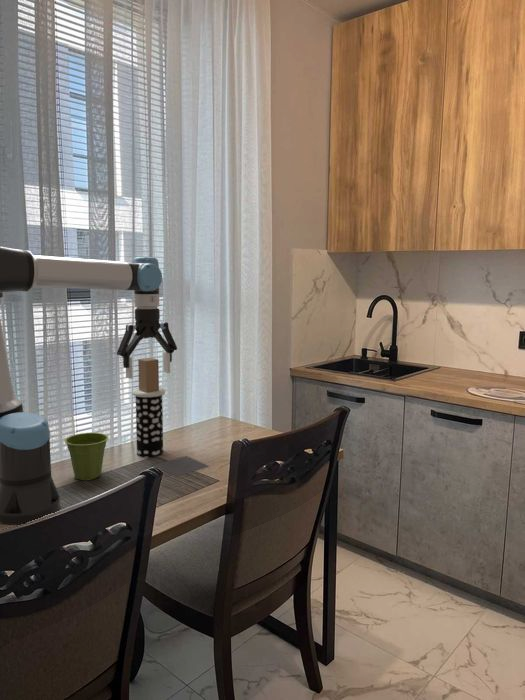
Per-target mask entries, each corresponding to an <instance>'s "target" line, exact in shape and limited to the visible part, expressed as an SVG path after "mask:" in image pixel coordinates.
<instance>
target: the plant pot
mask: <svg viewBox="0 0 525 700" xmlns="http://www.w3.org/2000/svg"><path fill="white" fill-rule="evenodd" d="M108 440H109V436H108V435H107V434H105V433H101V432H83V433H76V434H73V435H69V436H67V437H66V438H65V439H64V443H65V444H66V446H67V450H68V451H69V452H68V453H69V456H70V460H71V461H70V462H71V465H72V470H73V471H72V472H73V476H74V478H75V479H76V480H80V481H91V480H94V479H96V478H99V477H101V475H102V469H103V463H104V456H105V455H104V454H105V448H106V445H107V441H108Z"/></svg>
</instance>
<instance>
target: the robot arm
mask: <svg viewBox="0 0 525 700" xmlns="http://www.w3.org/2000/svg"><path fill="white" fill-rule="evenodd" d="M159 266H160V265H159V260H158V258H157V257H153V256H152V257H150V256H148V257H146V256H145V257H144V256H143V257H141V256H137V257H134V258H133V262H129V261H127V262H126V261H118V260H117V261H116V260H103V259H88V258H74V257H66V256H65V257H64V256H49V255H37V254H36V255H35V254H33V253H32V252H31V251H30V250H27V249H26V250H25V249H17V248H10V247H7V246H6V247H5V246H0V302H2V300H3V299H4V293H10V292H30V291H32V290H33V288H42V289H43V288H44V289H45V288H47V289H50V288H51V289H80V290H81V289H82V290H83V289H84V290H109V291H111V290H118V291H134V292H133V293H134V294H133V295H134V308H135V307H136V308H135V309H134V320H135V324H128V323H127V324H126V325H125V332H124V335H123V337H122V339H121V341H120V344H119V347H118V349H117V351H116V355H117V356H121V357H122V365H123V368H125V379H126V378H127V379H129V380H132V379H134V378H133V357H131V355H132V354H133V352H134V351H135V349H136V347H137V346H138V345H139V343H140V342H141V341H142V340H143V339H149V338H152V339H153V338H154V339H155V340H156V341H157V342H158V344H159V345H160V346H161V347H162V349H163V350H164V352H163V353H162V358H163V360H162V363H163V366H162V367H163V373H165V374H171V363H172V361H173V356H172V355H173V353H174V352H175V351H177V350H178V345H177V344H176V341H175V340H174V338H173V336H172V333H171V331H170V329H169V328H170V327H169V323H168V322H166V321H161V322H160V318H161V316H160V314H161V313H160V309H159V307H160V286H161V284H162V281H163V273H162V271H161V268H160V267H159ZM160 329H161V332H162V334H163V335H162V334H161V333H160ZM135 331H136V332H135ZM134 332H135V334H134ZM132 336H133V338H132ZM163 336H164V337H163ZM7 354H8V352H7V347H6V341H5V336H4V332H3V325H2V320H1V318H0V523H1V524H5V525H23V523H25V524H27V523H26V522H29V521H32V520H35V519H38V518H41V517H43V516H45V515H48V514H51V513H54V512H56V511H57V512H58V511H59V510H60V508H61V497H60V494H59V492H58V488H57V487H56V484H55V482H54V480H53V476H52V465H51V464H52V462H51V439H50V438H51V430H50V427H49V422H48V420H47V418H46V417H44V416H43V415H41V414H39V413H35V412H33V413H31V412H24V407H23V402H22V400H21V399H19V398H18V397H16V396H15V394H14V388H13V381H12V377H11V372H10V365H9V360H8V355H7ZM57 512H56V513H57ZM54 514H55V513H54Z"/></svg>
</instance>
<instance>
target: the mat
mask: <svg viewBox="0 0 525 700" xmlns="http://www.w3.org/2000/svg"><path fill="white" fill-rule="evenodd" d="M153 466H154V467H156V468H158V469H160V470H162V471H164V472H166V473H168V474H170V475H172V476H174V477H176V478H177V477H179V476H183V475H186V474H189V473H193V472H195V471H198V470H202V469H203V470H204V469H206V468H209V467H210V465H207V464H205V463H203V462H201V461H199V460H197V459H194V458H192V457H189V456H187V455H185V456H180V457H178V458H174V459H170V460H167V461H163V462H159V463H156V464H153Z"/></svg>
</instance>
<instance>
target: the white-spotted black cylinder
mask: <svg viewBox="0 0 525 700" xmlns="http://www.w3.org/2000/svg"><path fill="white" fill-rule="evenodd" d="M163 413H164V412H163V395H162V396H157V397H137V396H135V424H136V427H135V429H136V430H135V431H136V432H135V433H136V455H137V456H138V457H140V458H156V457H160V456H162V455H163V454H164V428H163V426H164V421H163V420H164V419H163V416H164V415H163Z"/></svg>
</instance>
